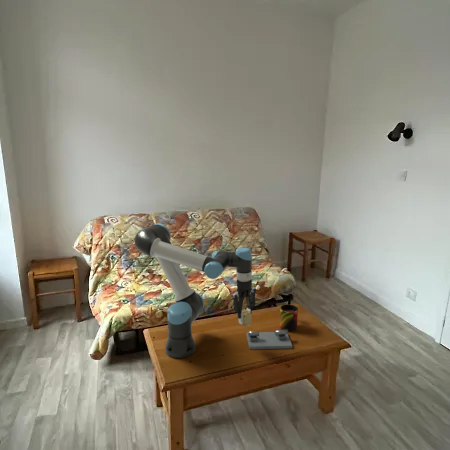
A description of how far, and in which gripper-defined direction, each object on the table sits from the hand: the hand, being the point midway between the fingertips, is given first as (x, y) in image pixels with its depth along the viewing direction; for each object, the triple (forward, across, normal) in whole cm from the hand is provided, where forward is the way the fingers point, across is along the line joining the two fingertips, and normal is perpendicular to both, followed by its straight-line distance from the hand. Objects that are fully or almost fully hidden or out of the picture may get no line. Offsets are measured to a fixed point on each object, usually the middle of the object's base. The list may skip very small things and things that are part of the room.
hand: (244, 322), depth 174 cm
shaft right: (+13, +19, -6) cm, 24 cm away
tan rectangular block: (0, 0, 0) cm, 1 cm away
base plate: (+14, +13, -3) cm, 19 cm away
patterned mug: (+15, +32, +3) cm, 35 cm away
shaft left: (+12, +6, +1) cm, 14 cm away
